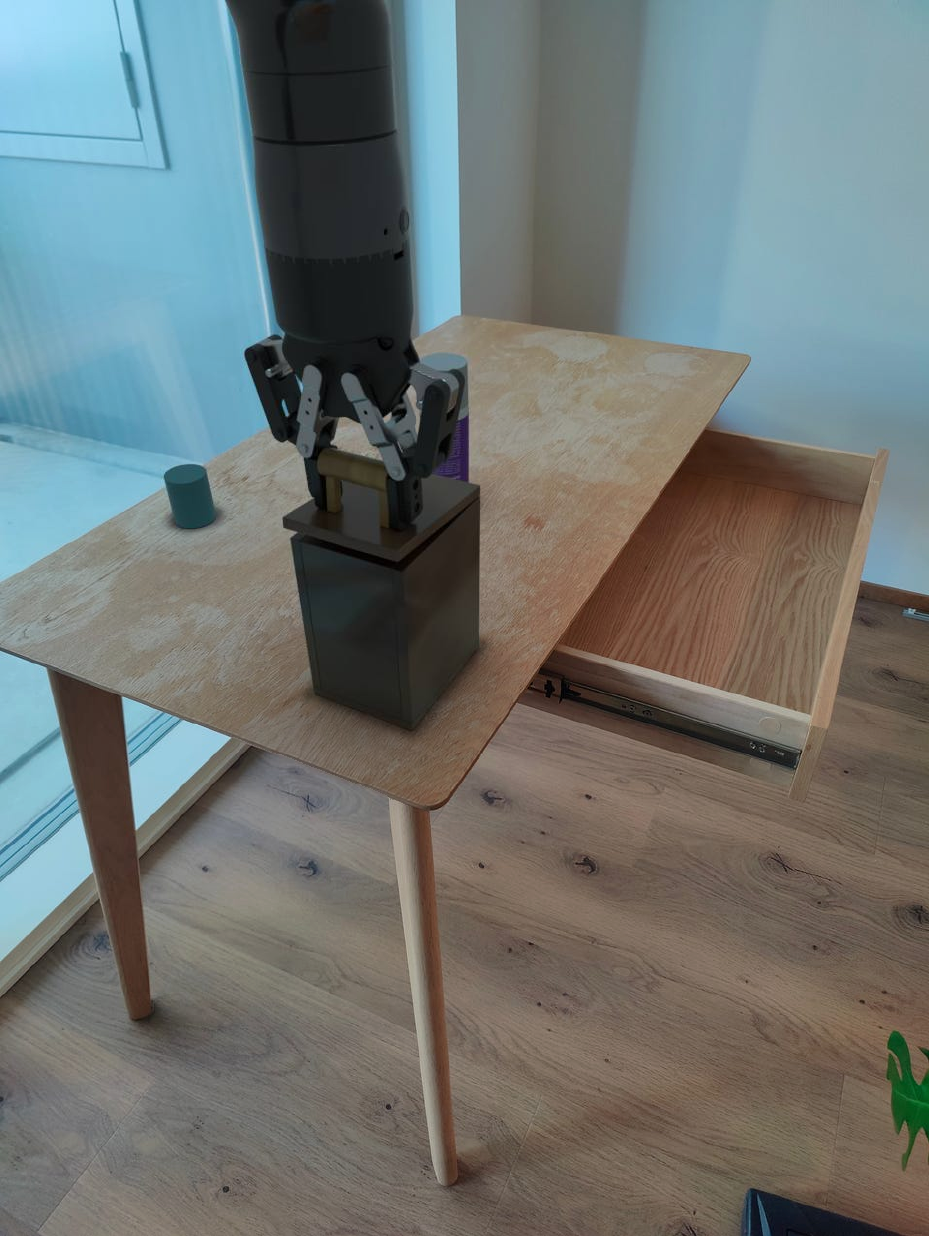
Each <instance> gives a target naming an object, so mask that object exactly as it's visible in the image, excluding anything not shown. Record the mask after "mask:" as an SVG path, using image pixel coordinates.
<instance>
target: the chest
mask: <svg viewBox="0 0 929 1236" xmlns="http://www.w3.org/2000/svg"><path fill="white" fill-rule="evenodd" d="M289 541H290V546H291V547H290V548H291V552H292V559H293V566H294V572H295V579H296V585H297V586H296V587H297V592H298V599H299V605H300V611H301V612H300V613H301V618H302V622H303V623H302V624H303V631H304V637H305V645H306V650H307V656H308V662H309V669H310V675H311V682H312V689H313V693H314V695H318V696H320V697H323V698H326V699H328V700H331V701H333V702H335V703H338V704H341V705H344V706H345V707H346V706H347V707H348V708H351V709H354V710H357V711H359V712H362V713H365V714H367V715H369V716H372V717H375V718H378V719H380V720H383V721H386V722H388V723H390V724H393V725H395V726H398V727H401V728H403V729H406V730H409V731H411V732H412V731H414V729H415V728H416V727H417V726H418V724H419V723H420V722H421V721H422V720H423V718H424V717H425V715H426V714H428V712H429V711H430V709H431V708H432V707H433V706H434V704H435V703H436V702H437V701H438V699H439V698H440V697H441V696H442V694H443V693H444V692H445V690H446V689H447V688H448V687H449V686H450V684H451V683H452V682H453V680H454V679H455V678H456V677H457V675H458V674H459V673H460V672H461V670H462V669H463V668H464V666H466V664H467V663H468V662H469V660H470V659H471V658H472V657H473V656H474V654H475V653H476V651H477V650H478V649H479V647H480V572H481V571H480V568H481V567H480V564H481V563H480V561H481V559H480V558H481V557H480V555H481V553H480V552H481V495H480V496H479V497H478V498H476V499H475V500H474V501H473V502H471V503H470V504H469V505H468V506H466V507H465V508H464V509H463V510H462V511H460V512H459V513H458V514H457V515H455V516H454V517H453V518H452V519H450V520H449V521H448V522H447V523H445V524H444V525H443V526H442V527H441V528H439V529H438V530H437V531H436V532H434V533H433V534H432V535H431V536H429V537H428V538H427V539H426V540H425V541H423V542H422V543H421V544H420V545H418V546H417V547H416V548H415V549H413V550H412V551H411V552H410V553H408V554H407V555H406V556H405V557H404V558H402V559H401V560H400V561H399V562H395V561H392V560H389V559H385V558H382V557H379V556H375V555H372V554H369V553H365V552H362V551H359V550H355V549H352V548H349V547H345V546H342V545H339V544H335V543H332V542H328V541H325V540H322V539H318V538H315V537H312V536H308V535H305V534H302V533H298V532H295V534H293V535H292V536H291V537H290V538H289Z"/></svg>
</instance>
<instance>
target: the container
mask: <svg viewBox="0 0 929 1236" xmlns="http://www.w3.org/2000/svg"><path fill="white" fill-rule="evenodd" d="M419 359H420V363H421V364H424V365H426V366H428V367H430V368H433V369H435V370H437V371H439V372H442V373H446V372H447V371H449V370H450V369H457V370H459V371H461V372H462V374H463V375H464V377H465V386H464V391H463V396H462V401H461V406H460V411H459V416H458V421H457V426H456V431H455V436H454V441H453V446H452V451H451V456H450V458H449V459H448V460H447V461H446V462H444V463H442V464H441V465H440V466H439V467H438V468H437V469H436V470H434V472H433V473H432V474H436V475H440V476H444V477H448V478H452V479H456V480H460V481H464V482H468V483H470V473H469V472H470V408H469V407H470V406H469V405H470V404H469V402H470V401H469V374H468V373H469V369H468V368H469V367H468V366H469V365H468V359H467V358H466V357H465V356H463V355H461V354H458V353H452V352H434V353H430V354H427V355H424V356H422V357H421V358H419ZM421 412H422V410H419V409H418V415H419V416H418V417H419V419H420V418H421Z"/></svg>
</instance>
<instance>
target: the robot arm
mask: <svg viewBox="0 0 929 1236" xmlns="http://www.w3.org/2000/svg"><path fill="white" fill-rule="evenodd" d="M224 2H225V5H226V7H227V9H228V13H229V15H230V18H231V20H232V23H233V26H234V29H235V33H236V36H237V45H238V53H239V61H240V68H241V76H242V81H243V88H244V89H243V90H244V95H245V101H246V107H247V114H248V120H249V128H250V133H251V134H252V136H251V140H252V141H251V142H252V148H253V149H252V150H253V151H252V152H253V175H254V177H253V178H254V189H255V190H254V191H255V198H256V204H257V210H258V217H259V224H260V229H261V236H262V242H263V249H264V255H265V260H266V267H267V273H268V279H269V285H270V292H271V298H272V304H273V310H274V316H275V322H276V324H277V326H278V327H279V329H280V330H281V331H282V332H283V333H284V335H283V338H282V337H281V336H280V335H279V334H276V333H273V334H271V335H269V336H267V337H266V338H263V339H262V340H260V341H258V342H256V343H254V344H253V345H249V347H247V348H245V349H244V353H243V355H244V359H245V362H246V365H247V368H248V371H249V374H250V376H251V379H252V382H253V384H254V387H255V390H256V393H257V396H258V399H259V401H260V404H261V407H262V410H263V412H264V415H265V418H266V421H267V423H268V426H269V429H270V432H271V434H272V437H273V438H274V440H275V441H277V442H279V443H286V442H289V443H290V444H292V445H294V446H295V447H296V450H297V452H298V454H299V455H300V456H302V458H303V465H304V471H305V476H306V483H307V490H308V493H309V494H310V497H311V498H312V499H313V498H314V502H315V505H316V507H319V508H322V509H326V510H327V495H326V478H325V476H323V475H321V474H320V473H319V471H318V468H317V461H318V457H319V454H320V452H321V451H322V450H323V449H324V448H326V447H330V448H334V449H338V450H339V448H338V445H334V444H332V442H333V441H334V440H335V436H336V432H337V429H338V424H339V420H340V418H346V419H349V420H351V421H352V422H355V423H357V424H360V425H361V426H362V429H363V431H364V433H365V435H366V438H367V440H368V444H369V445H370V446H371V447H375V448H377V450H378V452H379V454H380V457H381V459H382V461H383V462H384V464H385V467H386V469H387V471H388V474H389V475H390V476H388V477H387V478H386V487H387V499H388V510H389V521H390V527H391V528H393V529H397V530H400V531H403V530H404V529H405V528H406V527H407V526H408V525H409V524H410V523H412V522H413V521H414V519H415V518H417V517H418V516H419V515H420V514H421V511H422V509H423V500H422V499H423V498H422V481H421V478H428V477H429V476H430V475H431V474H432V473H433V472H434V470H436V469H437V468H438V467H439V466H440V465H441V464H442V463H444V462H446V461H447V460H448V459H449V458H450V456H451V451H452V446H453V441H454V436H455V431H456V426H457V421H458V416H459V411H460V406H461V401H462V396H463V391H464V386H465V377H464V375H463V374H462V372H461V371H459V370H457V369H450V370H449V371H447V372H446V373H442V372H439V371H437V370H435V369H433V368H430V367H428V366H426V365H424V364H421V363H420V359H421V358H420V356H419V353H418V352H417V350H416V348H415V346H414V342H413V339H412V334H411V333H412V332H411V331H412V324H413V318H414V296H413V278H412V277H413V276H412V262H411V243H410V213H409V207H408V190H407V179H406V173H405V167H404V162H403V156H402V151H401V144H400V136H399V129H398V114H397V111H398V110H397V97H396V95H397V94H396V79H395V64H394V59H395V58H394V43H393V31H392V23H391V16H390V12H389V8H388V5H387V2H386V0H224ZM298 381H299V382H300V383H301V386H302V390H301V387H300V385H299V382H298ZM411 386H412V388H413V389H414V391H415V395H416V402H415V408H416V409H418V411H419V410H422V412H421V418H420V417H419V425H418V431H417V430H416V425H417V416H416V413H415V411H414V408H413V406H412V403H411V400H410V397H409V395H408V392H407V391H408V390H409V388H410V387H411ZM283 402H284V405H285V408H286V410H287V412H288V415H286V412H285V409H284V407H283ZM390 414H391V415H390ZM388 415H390V418H389V420H387V421H386V422H385V420H384V418H386V417H387V416H388ZM340 487H341V497H342V494H343V488H342V480H340Z"/></svg>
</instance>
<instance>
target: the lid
mask: <svg viewBox="0 0 929 1236" xmlns="http://www.w3.org/2000/svg"><path fill="white" fill-rule="evenodd" d="M317 468H318V471H319V473H320V474H321V475H323V476H325V478H326V495H327V510H326V509H322V508H319V507H316V505H315V502H314V498H313V497H312V498H311V499H309V500H308V501H306V502H305V503H303V504H301V505H300V506H298V507H297V508H295V509H293V510H292V511H290V512H287V514H285V515H284V516H282V518H281V519H282V527H283V529H284V530H289V531H292V532H295V533H297V532H298V533H302V534H305V535H308V536H312V537H315V538H318V539H322V540H325V541H328V542H332V543H335V544H339V545H342V546H345V547H349V548H352V549H355V550H359V551H362V552H365V553H369V554H372V555H375V556H379V557H382V558H385V559H389V560H392V561H395V562H399V561H400V560H401V559H402V558H404V557H405V556H406V555H407V554H408V553H410V552H411V551H412V550H413V549H415V548H416V547H417V546H418V545H420V544H421V543H422V542H423V541H425V540H426V539H427V538H428V537H429V536H431V535H432V534H433V533H434V532H436V531H437V530H438V529H439V528H441V527H442V526H443V525H444V524H445V523H447V522H448V521H449V520H450V519H452V518H453V517H454V516H455V515H457V514H458V513H459V512H460V511H462V510H463V509H464V508H465V507H466V506H468V505H469V504H470V503H471V502H473V501H474V500H475V499H476V498H478V497H479V496H480V497H481V485H480V484H475V483H471V482H469V483H468V482H464V481H460V480H456V479H452V478H448V477H444V476H440V475H436V474H431V475H430V476H429V477H428V478H421V481H422V498H423V499H422V500H423V509H422V511H421V514H420V515H419V516H418V517H417V518H415V519H414V521H413V522H412V523H410V524H409V525H408V526H407V527H406V528H405V529H404V530H403V531H400V530H397V529H393V528H391V527H390V521H389V510H388V499H387V487H386V478H387V477H388V476H390V475H389V474H388V471H387V469H386V467H385V464H384V462H383V459H382V460H381V459H378V458H374V457H370V456H366V455H362V454H358V453H354V452H349V451H347V450H341V449H339V448H338V449H334V448H330V447H326V448H324V449H323V450H322V451H321V452H320V454H319V457H318V461H317ZM340 480H342V488H343V494H342V497H341V487H340Z"/></svg>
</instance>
